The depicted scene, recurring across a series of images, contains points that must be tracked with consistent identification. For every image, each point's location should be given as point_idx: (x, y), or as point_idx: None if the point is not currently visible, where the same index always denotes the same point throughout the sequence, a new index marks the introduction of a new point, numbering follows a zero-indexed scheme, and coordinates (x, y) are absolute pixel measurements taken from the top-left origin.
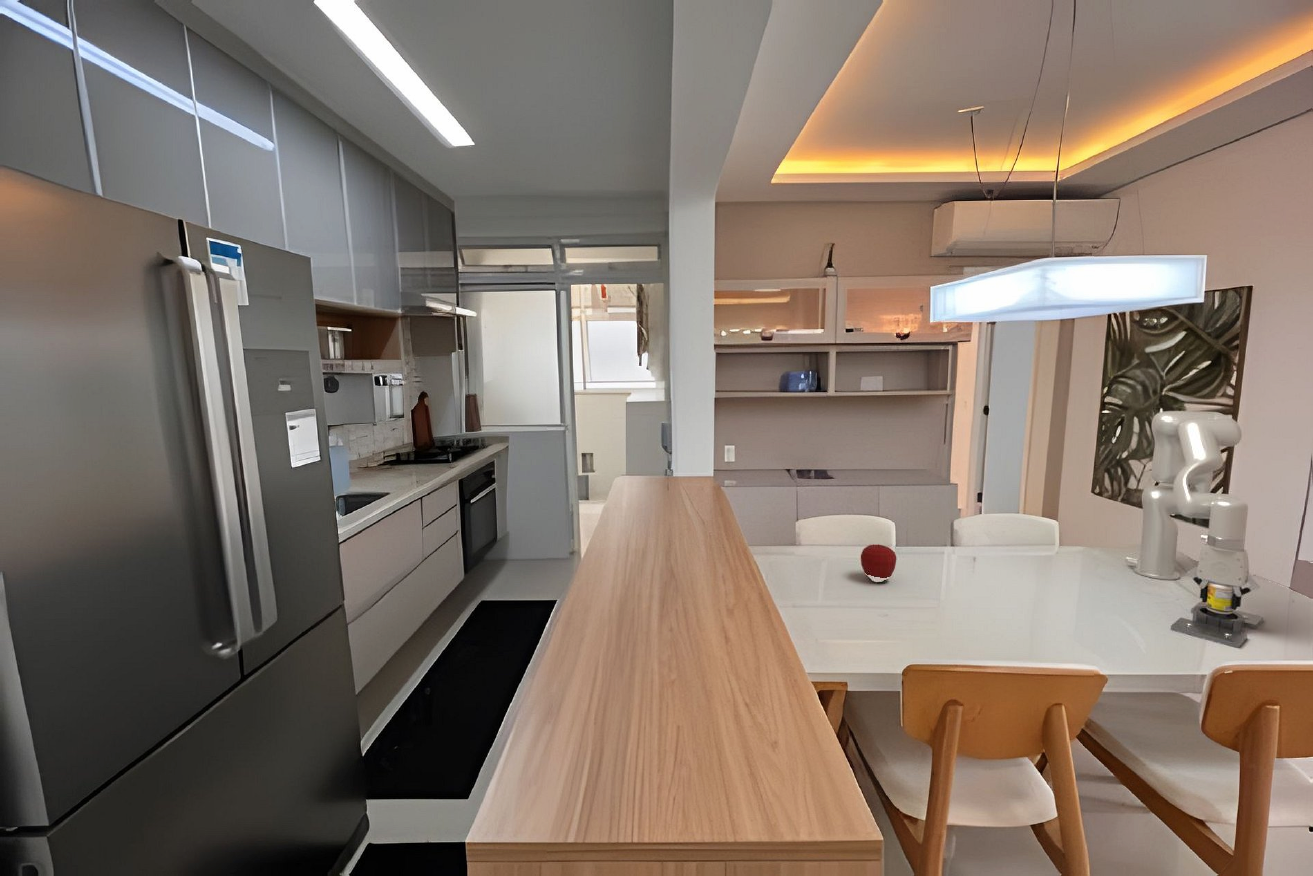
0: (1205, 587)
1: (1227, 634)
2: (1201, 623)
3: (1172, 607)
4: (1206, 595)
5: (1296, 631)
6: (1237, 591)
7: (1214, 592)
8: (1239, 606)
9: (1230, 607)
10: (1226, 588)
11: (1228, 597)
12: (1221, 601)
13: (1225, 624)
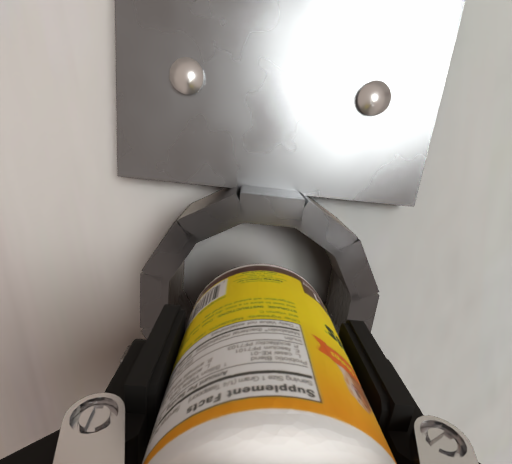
0: (403, 446)
1: (188, 65)
2: (319, 184)
3: (432, 383)
4: (357, 371)
5: (16, 428)
6: (88, 449)
7: (314, 363)
8: (136, 345)
9: (192, 319)
10: (198, 439)
11: (192, 358)
12: (244, 307)
13: (213, 200)
